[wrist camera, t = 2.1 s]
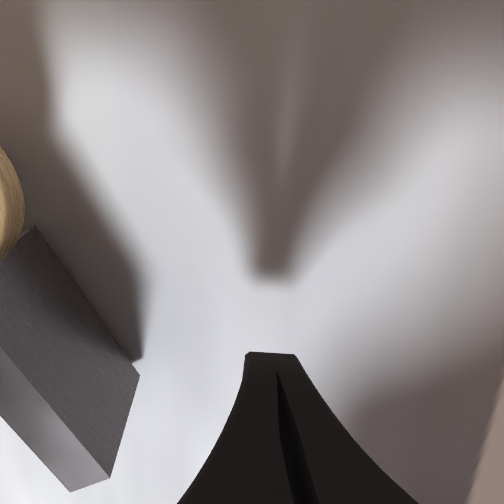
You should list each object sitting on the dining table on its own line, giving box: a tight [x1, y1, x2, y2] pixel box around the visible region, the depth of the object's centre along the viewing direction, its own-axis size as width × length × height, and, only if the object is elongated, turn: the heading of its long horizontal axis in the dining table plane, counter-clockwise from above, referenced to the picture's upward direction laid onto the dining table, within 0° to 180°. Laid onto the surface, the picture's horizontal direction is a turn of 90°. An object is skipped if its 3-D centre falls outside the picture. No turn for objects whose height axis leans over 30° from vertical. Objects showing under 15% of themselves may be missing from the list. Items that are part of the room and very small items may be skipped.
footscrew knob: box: [0, 146, 140, 492], centre depth 11 cm, size 10×4×4 cm, turn 24°
